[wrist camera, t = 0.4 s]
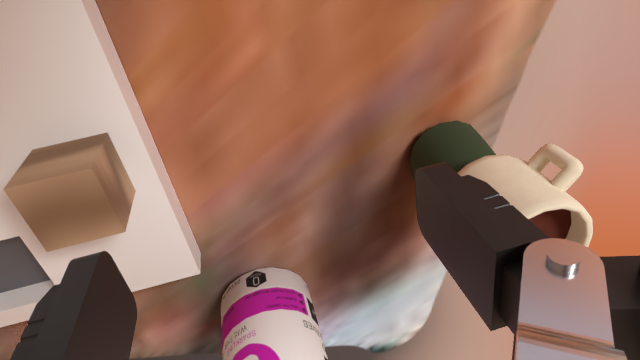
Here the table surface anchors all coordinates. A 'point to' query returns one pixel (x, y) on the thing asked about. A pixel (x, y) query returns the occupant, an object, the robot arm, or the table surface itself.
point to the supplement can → (270, 318)
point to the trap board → (71, 124)
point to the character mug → (512, 177)
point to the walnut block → (73, 192)
